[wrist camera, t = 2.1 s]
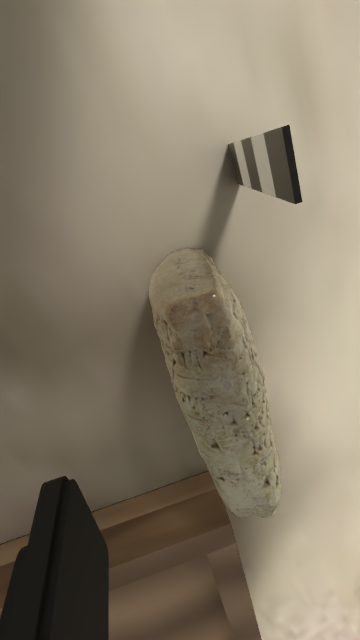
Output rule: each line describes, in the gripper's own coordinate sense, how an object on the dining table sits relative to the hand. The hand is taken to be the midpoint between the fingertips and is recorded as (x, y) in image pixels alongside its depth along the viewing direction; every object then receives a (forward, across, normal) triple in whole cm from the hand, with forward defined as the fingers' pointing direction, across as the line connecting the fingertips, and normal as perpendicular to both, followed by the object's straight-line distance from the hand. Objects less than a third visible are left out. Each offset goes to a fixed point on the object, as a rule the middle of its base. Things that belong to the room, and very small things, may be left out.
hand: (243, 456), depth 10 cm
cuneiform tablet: (+7, -1, -2) cm, 7 cm away
